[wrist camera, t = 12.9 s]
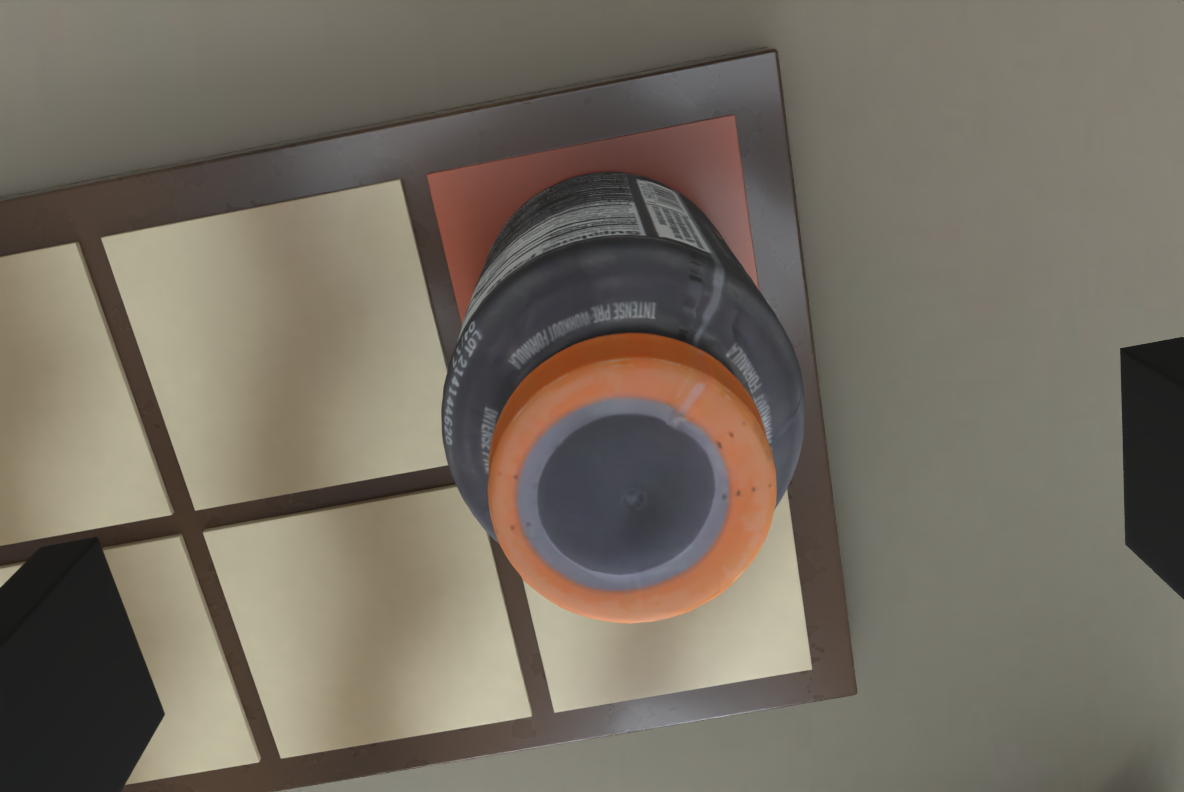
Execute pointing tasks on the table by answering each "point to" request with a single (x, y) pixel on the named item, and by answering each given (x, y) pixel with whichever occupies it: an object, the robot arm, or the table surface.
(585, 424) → the pill bottle
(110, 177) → the grid board
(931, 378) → the table surface
